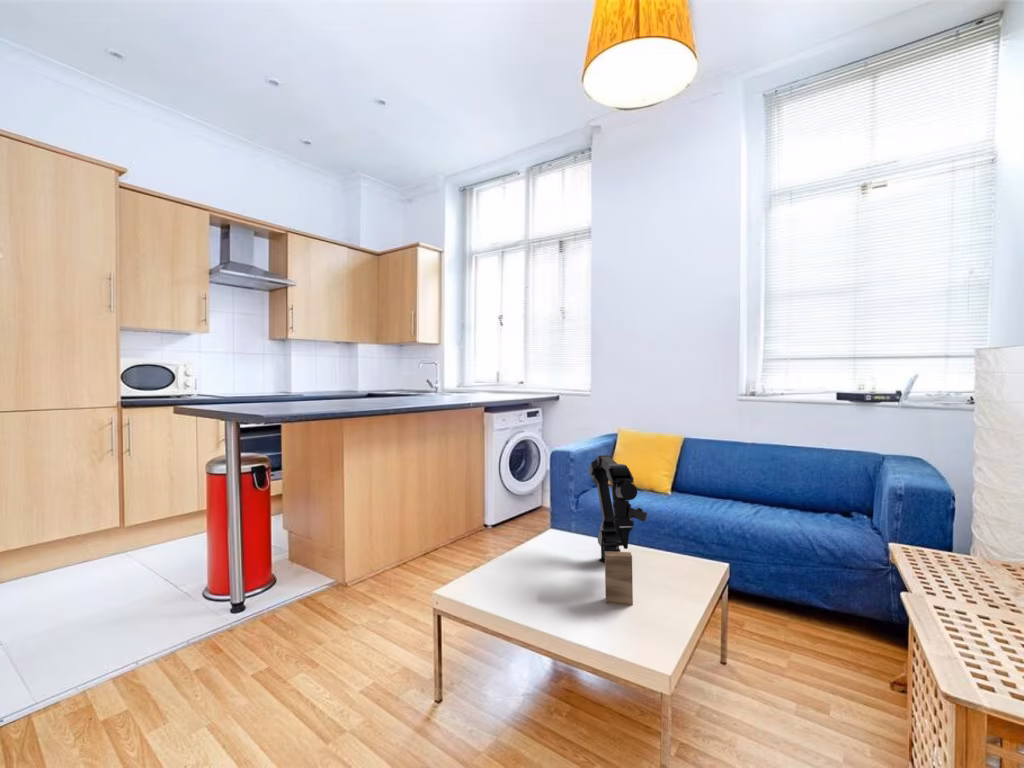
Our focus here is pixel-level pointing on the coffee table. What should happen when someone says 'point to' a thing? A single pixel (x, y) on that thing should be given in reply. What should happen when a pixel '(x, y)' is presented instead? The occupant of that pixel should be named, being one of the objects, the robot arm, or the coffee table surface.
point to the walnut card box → (618, 578)
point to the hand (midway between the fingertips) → (625, 547)
